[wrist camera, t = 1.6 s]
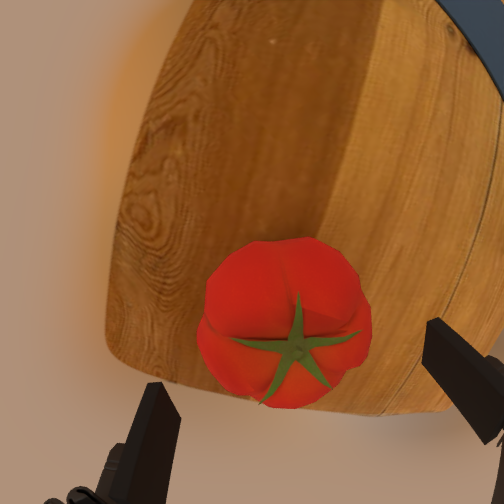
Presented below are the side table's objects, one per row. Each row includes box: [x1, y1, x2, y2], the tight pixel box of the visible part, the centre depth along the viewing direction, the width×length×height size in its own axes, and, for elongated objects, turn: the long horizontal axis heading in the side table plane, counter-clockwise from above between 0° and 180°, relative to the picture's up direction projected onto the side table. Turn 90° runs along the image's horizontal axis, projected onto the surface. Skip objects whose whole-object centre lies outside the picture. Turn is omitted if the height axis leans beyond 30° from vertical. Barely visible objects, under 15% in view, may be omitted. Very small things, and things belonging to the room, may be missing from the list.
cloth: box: [436, 0, 504, 100], centre depth 13 cm, size 20×16×1 cm
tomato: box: [197, 237, 372, 409], centre depth 17 cm, size 11×11×8 cm
